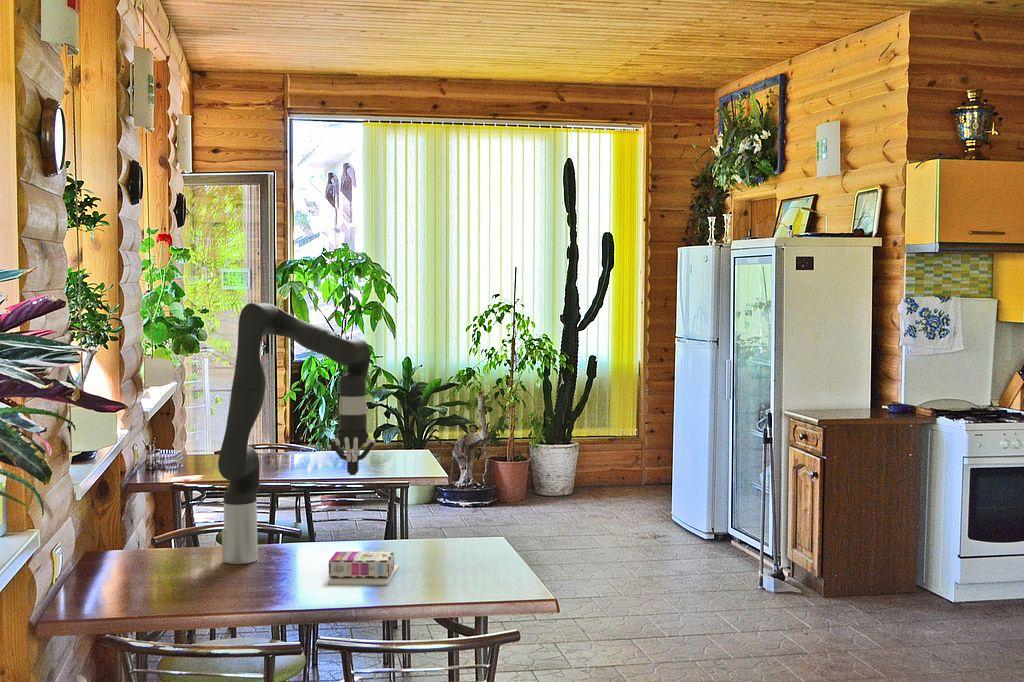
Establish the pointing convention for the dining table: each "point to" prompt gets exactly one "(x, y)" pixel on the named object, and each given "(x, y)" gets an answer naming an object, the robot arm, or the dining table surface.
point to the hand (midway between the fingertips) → (353, 474)
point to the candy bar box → (361, 564)
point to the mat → (364, 580)
